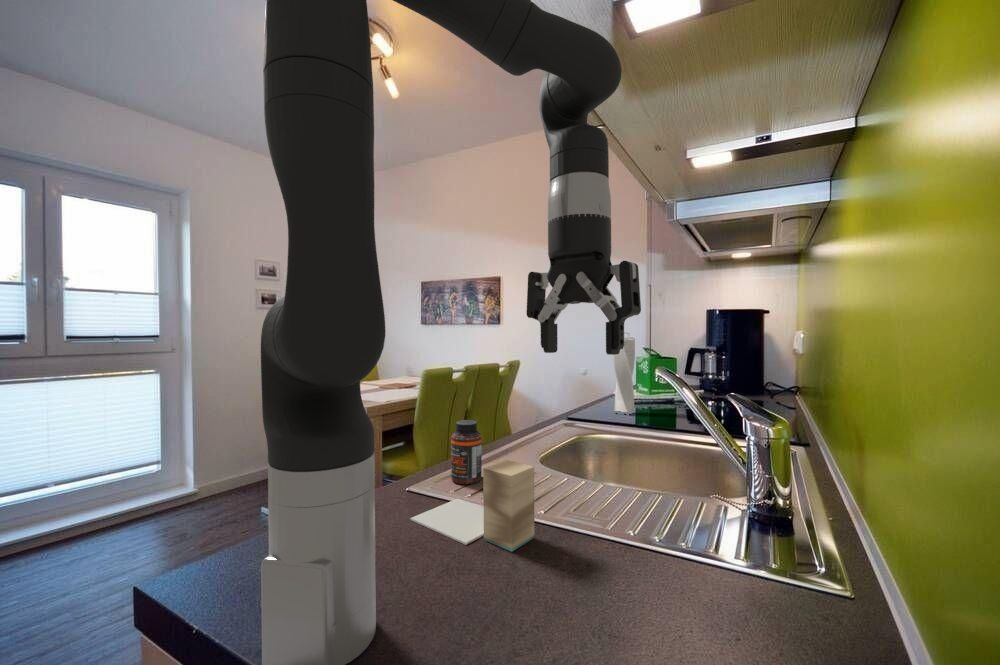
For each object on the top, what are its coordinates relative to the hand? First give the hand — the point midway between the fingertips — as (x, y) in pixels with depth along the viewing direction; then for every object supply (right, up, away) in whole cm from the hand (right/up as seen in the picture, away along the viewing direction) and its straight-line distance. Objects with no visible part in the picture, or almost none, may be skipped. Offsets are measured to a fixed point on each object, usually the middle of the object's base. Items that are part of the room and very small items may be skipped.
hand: (580, 353), depth 52 cm
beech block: (-8, -26, +7) cm, 28 cm away
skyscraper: (+33, -26, +96) cm, 105 cm away
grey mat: (-16, -26, +14) cm, 33 cm away
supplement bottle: (-16, -26, +31) cm, 44 cm away
